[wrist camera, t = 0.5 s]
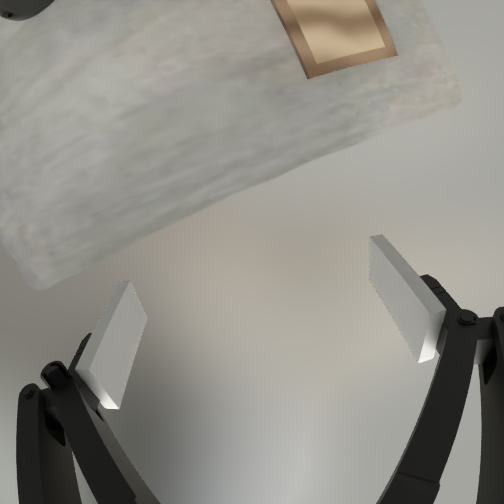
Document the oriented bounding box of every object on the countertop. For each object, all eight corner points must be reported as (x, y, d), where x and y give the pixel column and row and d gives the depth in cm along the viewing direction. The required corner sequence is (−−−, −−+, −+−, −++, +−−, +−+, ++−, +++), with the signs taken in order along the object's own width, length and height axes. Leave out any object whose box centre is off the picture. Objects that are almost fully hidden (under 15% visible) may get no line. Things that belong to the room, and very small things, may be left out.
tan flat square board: (267, -6, 29) (268, -10, 27) (356, -25, 27) (360, -28, 25) (307, 79, 34) (310, 78, 33) (393, 56, 32) (398, 55, 31)
